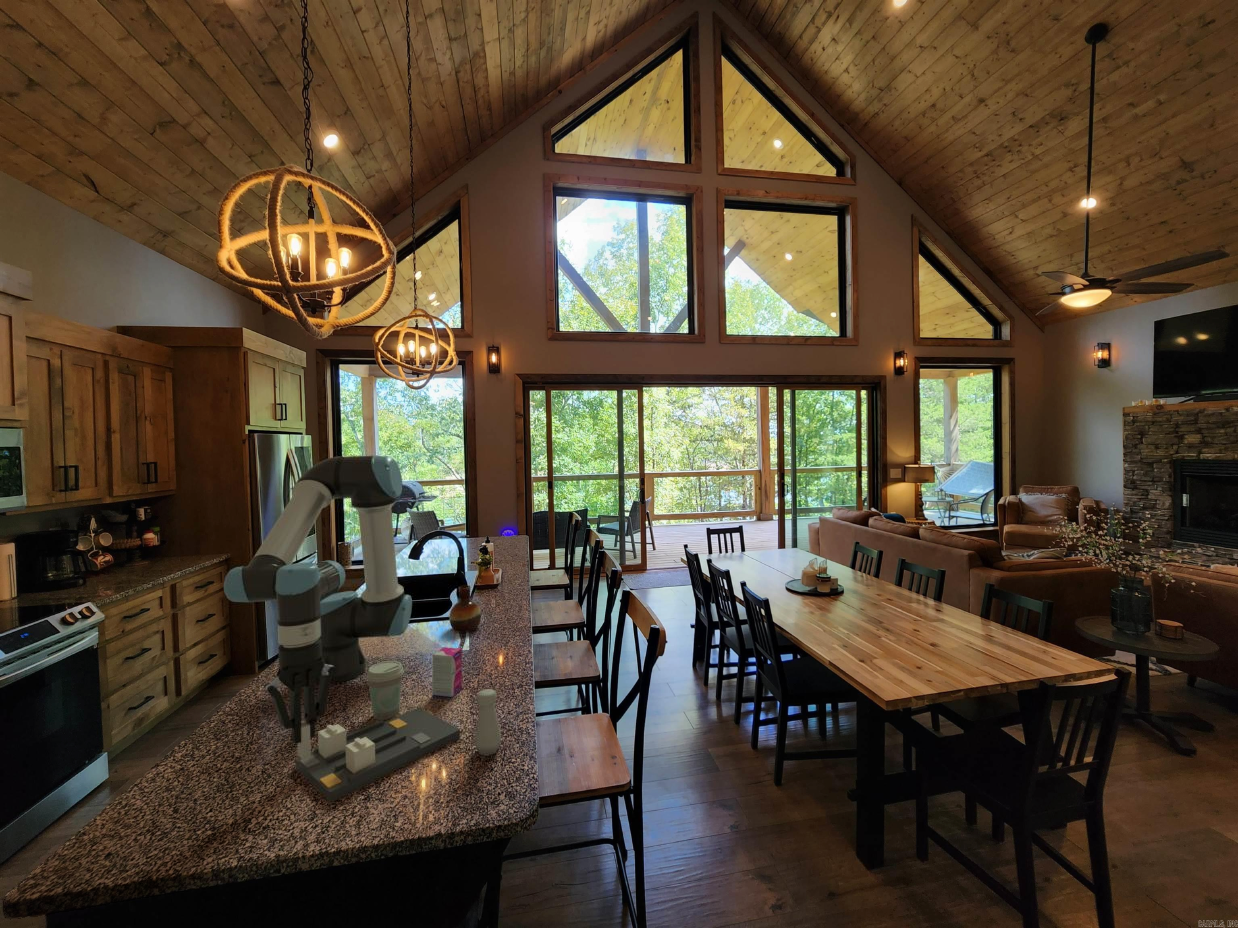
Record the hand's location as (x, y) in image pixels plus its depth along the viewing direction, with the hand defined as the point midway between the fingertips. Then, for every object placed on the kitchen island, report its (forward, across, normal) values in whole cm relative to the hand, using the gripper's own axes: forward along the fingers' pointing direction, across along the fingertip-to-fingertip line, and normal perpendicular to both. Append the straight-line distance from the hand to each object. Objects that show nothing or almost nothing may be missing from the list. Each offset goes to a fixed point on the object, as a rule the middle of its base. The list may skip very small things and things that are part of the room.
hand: (304, 755), depth 109 cm
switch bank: (+4, +13, -5) cm, 15 cm away
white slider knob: (+2, +5, 0) cm, 6 cm away
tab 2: (+2, +7, -10) cm, 12 cm away
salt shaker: (+4, +28, -22) cm, 37 cm away
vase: (+4, +71, +49) cm, 86 cm away
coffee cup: (+4, +22, +10) cm, 25 cm away
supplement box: (+4, +38, +9) cm, 40 cm away
